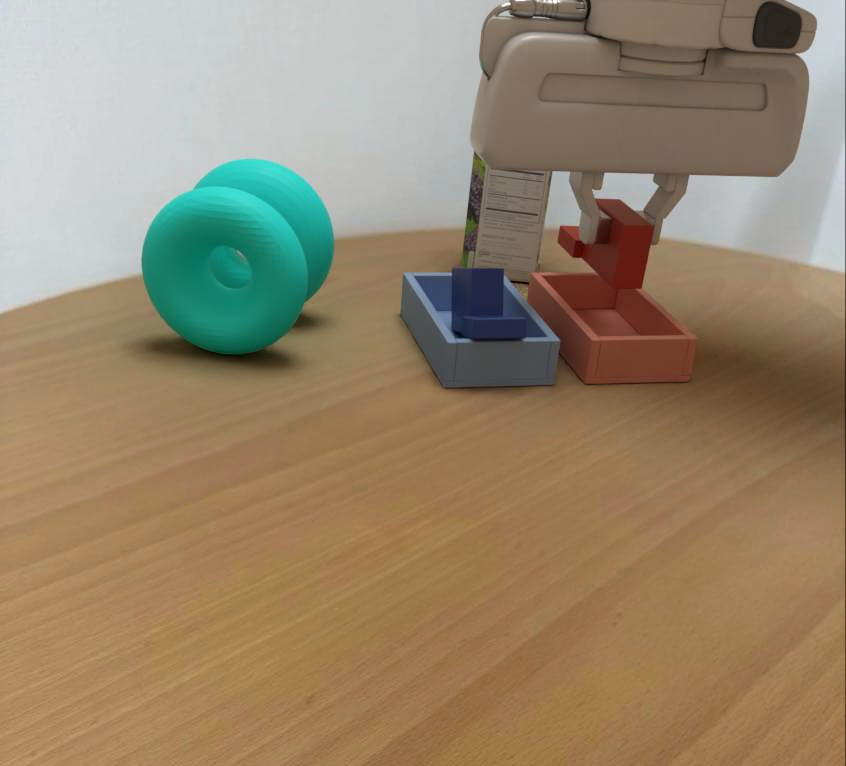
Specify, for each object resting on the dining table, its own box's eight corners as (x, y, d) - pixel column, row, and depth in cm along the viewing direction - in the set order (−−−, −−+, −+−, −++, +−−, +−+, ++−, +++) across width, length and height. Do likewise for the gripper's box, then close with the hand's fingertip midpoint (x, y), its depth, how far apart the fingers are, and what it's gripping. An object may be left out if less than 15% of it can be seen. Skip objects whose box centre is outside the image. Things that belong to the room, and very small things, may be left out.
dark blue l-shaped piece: (526, 338, 68) (528, 268, 67) (473, 339, 67) (474, 268, 66) (489, 329, 76) (490, 267, 75) (442, 330, 76) (442, 267, 75)
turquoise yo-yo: (138, 349, 70) (129, 183, 65) (192, 295, 78) (188, 145, 73) (298, 372, 69) (302, 205, 64) (335, 315, 78) (341, 163, 72)
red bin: (617, 311, 82) (624, 271, 81) (689, 381, 72) (698, 338, 71) (525, 312, 81) (530, 272, 79) (585, 384, 71) (592, 340, 69)
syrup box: (467, 253, 91) (486, 57, 84) (541, 262, 91) (567, 66, 83) (459, 276, 86) (479, 70, 79) (538, 285, 86) (565, 79, 78)
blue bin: (497, 312, 80) (502, 272, 79) (554, 385, 70) (561, 340, 69) (400, 313, 79) (402, 272, 77) (443, 388, 69) (447, 342, 67)
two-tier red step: (556, 242, 79) (566, 183, 77) (600, 243, 80) (611, 185, 77) (603, 288, 71) (615, 225, 69) (650, 289, 72) (664, 226, 70)
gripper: (501, 0, 61) (473, 257, 68) (844, 22, 66) (784, 259, 73) (470, -15, 66) (447, 224, 73) (790, 6, 71) (738, 229, 78)
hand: (617, 242), depth 73 cm, fingers closed on two-tier red step, 2 cm apart
